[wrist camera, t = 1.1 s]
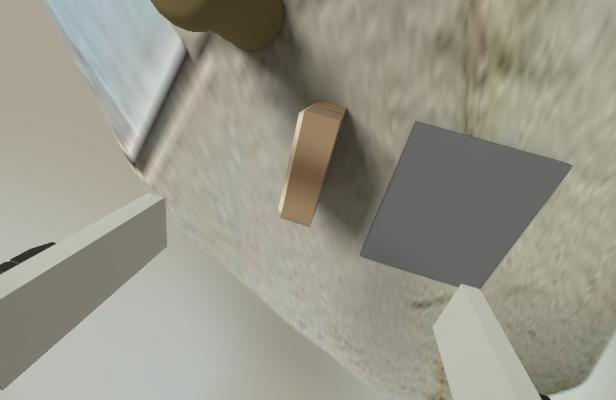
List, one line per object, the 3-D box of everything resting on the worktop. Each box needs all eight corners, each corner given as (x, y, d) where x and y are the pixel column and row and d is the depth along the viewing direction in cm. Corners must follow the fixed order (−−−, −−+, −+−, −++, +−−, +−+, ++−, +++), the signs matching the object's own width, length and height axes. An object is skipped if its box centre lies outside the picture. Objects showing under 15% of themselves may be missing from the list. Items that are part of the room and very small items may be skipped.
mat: (415, 121, 24) (416, 122, 24) (568, 163, 24) (572, 165, 23) (360, 252, 32) (360, 255, 31) (475, 288, 31) (476, 292, 30)
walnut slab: (316, 99, 25) (298, 109, 18) (346, 107, 25) (340, 120, 18) (296, 182, 29) (276, 216, 22) (322, 189, 29) (309, 227, 22)
